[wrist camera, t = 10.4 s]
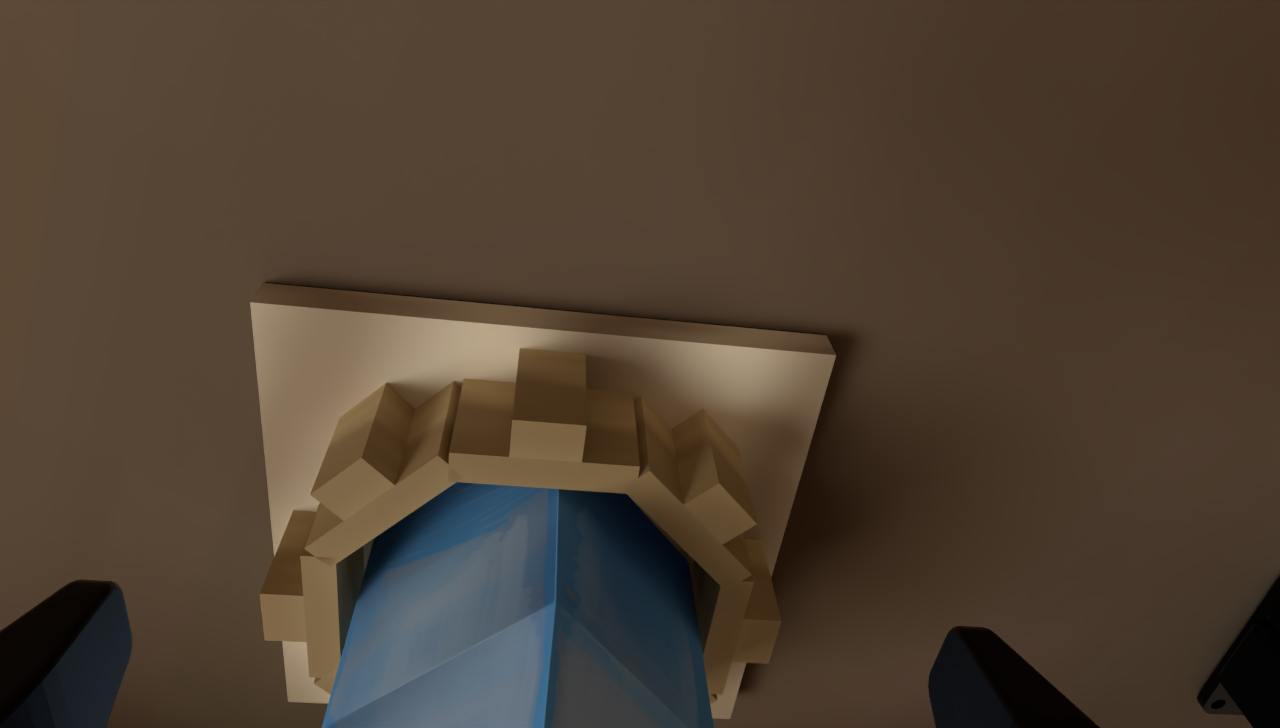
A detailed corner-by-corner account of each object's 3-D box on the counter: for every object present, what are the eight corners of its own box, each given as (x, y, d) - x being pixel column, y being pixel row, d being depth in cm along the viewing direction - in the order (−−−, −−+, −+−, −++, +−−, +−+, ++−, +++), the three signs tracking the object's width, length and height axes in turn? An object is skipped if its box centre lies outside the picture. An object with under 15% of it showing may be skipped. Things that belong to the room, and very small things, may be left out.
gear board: (827, 335, 23) (869, 425, 20) (725, 693, 30) (744, 804, 27) (262, 282, 22) (204, 371, 18) (296, 675, 29) (258, 791, 25)
